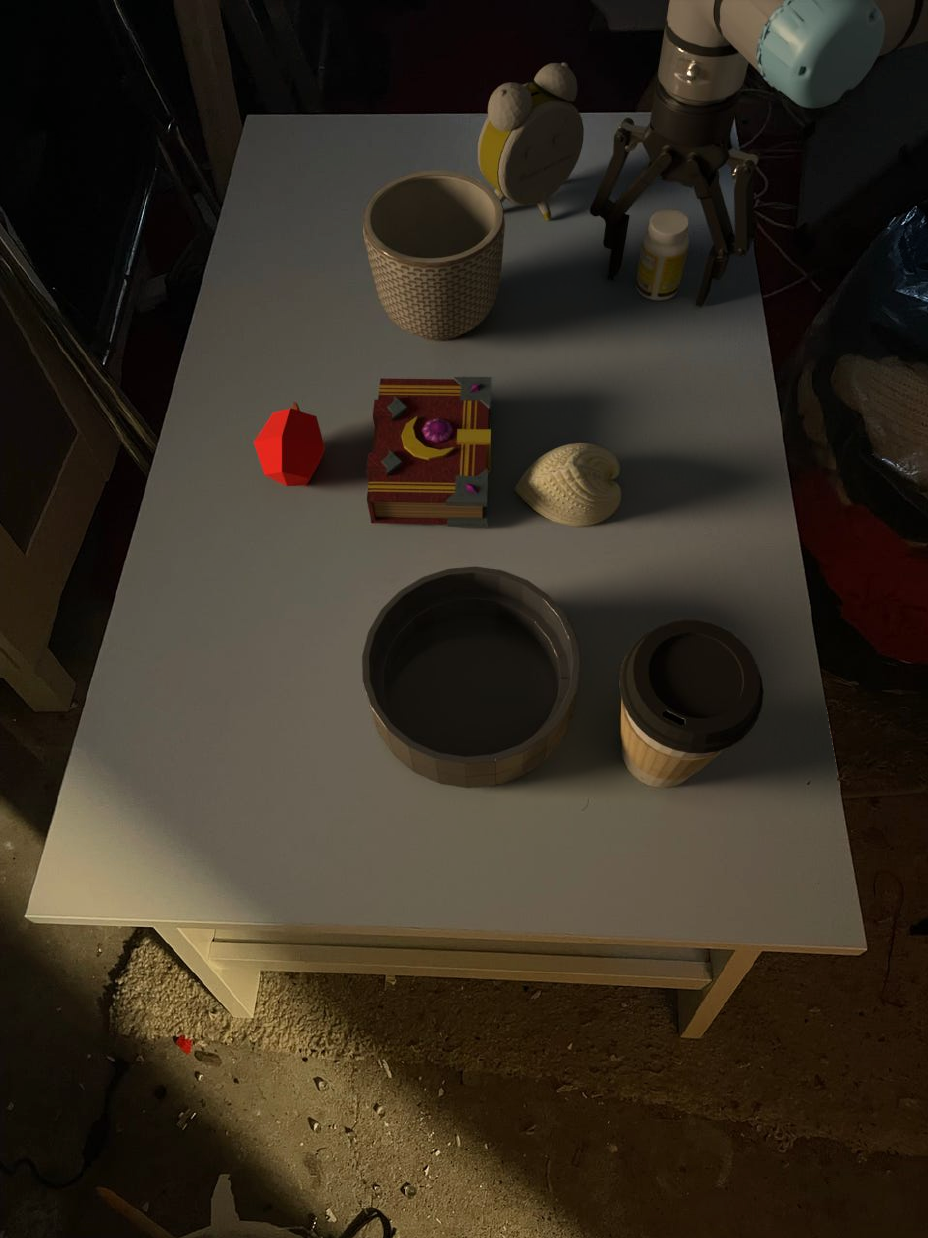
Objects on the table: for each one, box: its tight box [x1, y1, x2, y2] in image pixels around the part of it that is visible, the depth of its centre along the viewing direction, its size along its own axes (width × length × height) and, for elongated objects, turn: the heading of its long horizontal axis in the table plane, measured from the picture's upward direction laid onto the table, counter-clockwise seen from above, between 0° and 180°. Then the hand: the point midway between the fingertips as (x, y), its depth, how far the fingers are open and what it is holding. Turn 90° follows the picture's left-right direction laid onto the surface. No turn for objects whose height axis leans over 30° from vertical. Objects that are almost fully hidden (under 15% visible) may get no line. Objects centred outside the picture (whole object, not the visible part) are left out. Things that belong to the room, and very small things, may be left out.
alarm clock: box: [477, 61, 585, 221], centre depth 99 cm, size 12×7×15 cm, turn 124°
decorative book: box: [365, 376, 493, 529], centre depth 86 cm, size 11×16×5 cm
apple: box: [253, 401, 326, 487], centre depth 86 cm, size 7×7×8 cm
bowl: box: [361, 566, 581, 789], centre depth 73 cm, size 17×17×6 cm
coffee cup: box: [618, 619, 764, 789], centre depth 67 cm, size 10×10×15 cm
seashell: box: [514, 442, 622, 528], centre depth 83 cm, size 8×8×8 cm
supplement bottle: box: [635, 208, 690, 301], centre depth 95 cm, size 5×5×8 cm
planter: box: [362, 169, 506, 342], centre depth 92 cm, size 14×14×13 cm
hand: (657, 284), depth 99 cm, fingers open, 9 cm apart
